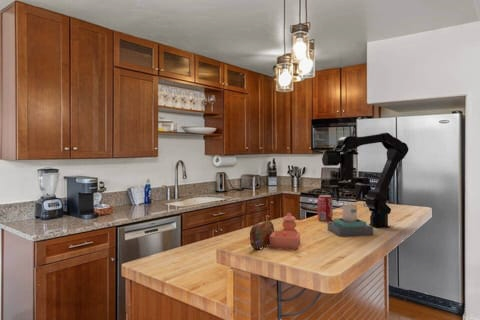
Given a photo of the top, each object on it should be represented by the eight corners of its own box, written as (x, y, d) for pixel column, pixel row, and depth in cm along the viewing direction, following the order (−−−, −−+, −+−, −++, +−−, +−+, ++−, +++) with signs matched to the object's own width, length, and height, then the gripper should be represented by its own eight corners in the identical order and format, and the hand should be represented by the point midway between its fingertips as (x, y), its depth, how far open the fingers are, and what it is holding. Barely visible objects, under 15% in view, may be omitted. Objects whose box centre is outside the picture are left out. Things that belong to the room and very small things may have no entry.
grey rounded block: (352, 223, 141) (352, 204, 141) (361, 227, 134) (361, 207, 134) (340, 223, 140) (340, 204, 140) (348, 227, 133) (348, 207, 133)
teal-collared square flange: (358, 228, 145) (358, 216, 145) (373, 234, 133) (373, 222, 133) (327, 229, 143) (327, 218, 143) (339, 236, 131) (339, 223, 131)
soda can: (331, 218, 167) (331, 194, 167) (333, 221, 160) (333, 196, 160) (316, 218, 168) (316, 194, 167) (318, 221, 160) (318, 196, 160)
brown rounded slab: (256, 252, 111) (256, 227, 111) (248, 250, 113) (247, 226, 113) (275, 241, 124) (274, 219, 124) (267, 240, 126) (267, 218, 126)
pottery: (296, 250, 114) (296, 221, 113) (269, 248, 116) (269, 220, 116) (302, 237, 131) (302, 212, 131) (279, 236, 134) (278, 211, 133)
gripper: (356, 164, 154) (357, 197, 155) (318, 165, 151) (319, 199, 151) (370, 165, 143) (370, 201, 144) (329, 166, 140) (330, 203, 140)
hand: (347, 201), depth 145 cm, fingers open, 9 cm apart
